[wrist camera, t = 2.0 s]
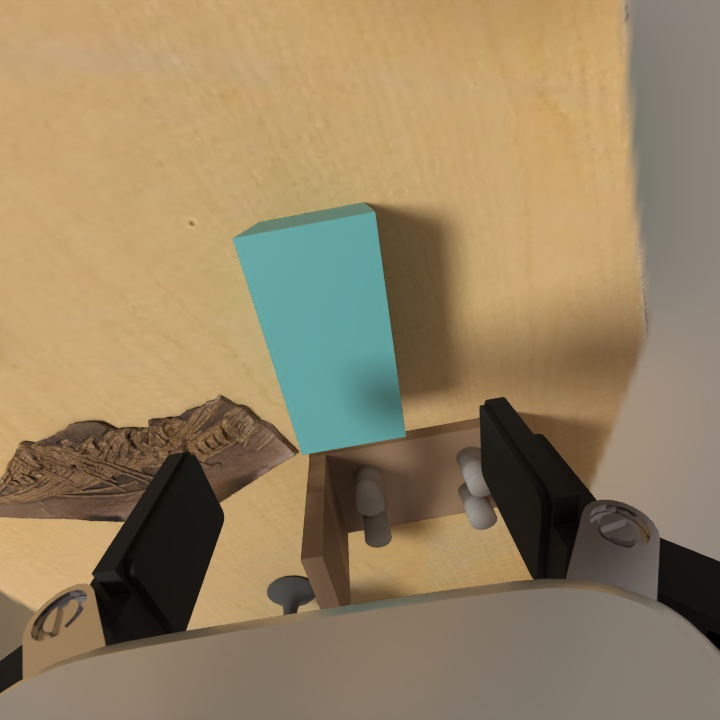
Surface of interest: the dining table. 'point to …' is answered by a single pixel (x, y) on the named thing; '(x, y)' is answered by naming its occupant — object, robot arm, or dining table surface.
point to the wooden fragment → (136, 462)
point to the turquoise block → (326, 324)
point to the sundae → (291, 593)
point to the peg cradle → (388, 496)
